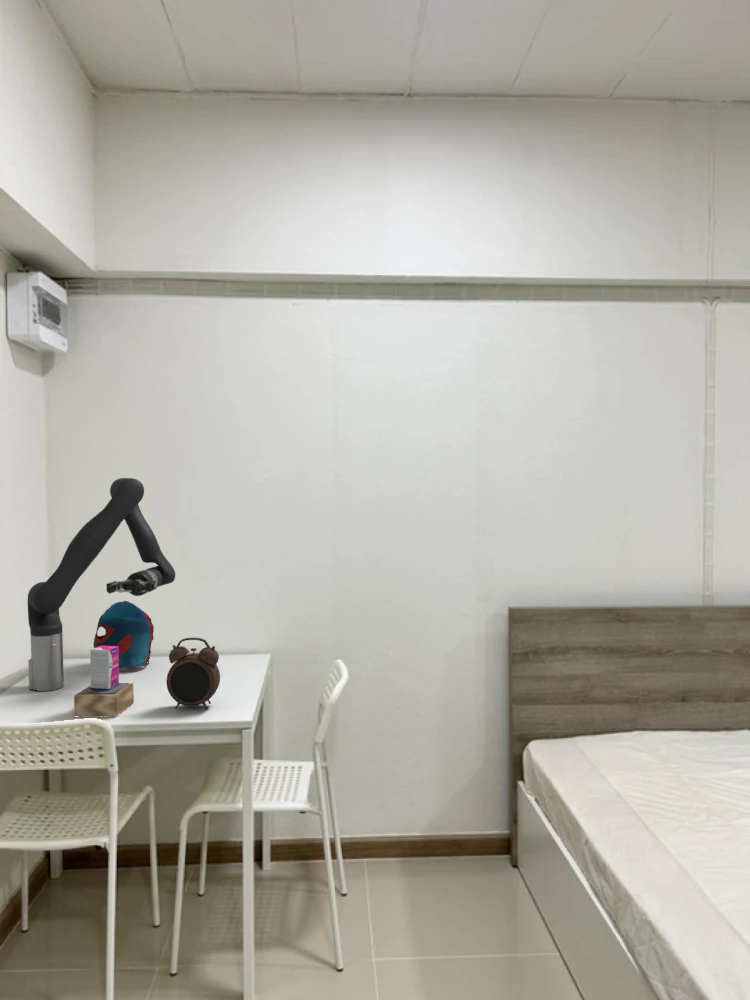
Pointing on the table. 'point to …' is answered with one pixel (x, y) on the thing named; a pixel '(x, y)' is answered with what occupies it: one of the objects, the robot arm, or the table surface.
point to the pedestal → (104, 701)
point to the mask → (127, 633)
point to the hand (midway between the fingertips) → (122, 589)
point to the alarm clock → (193, 674)
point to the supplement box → (104, 667)
